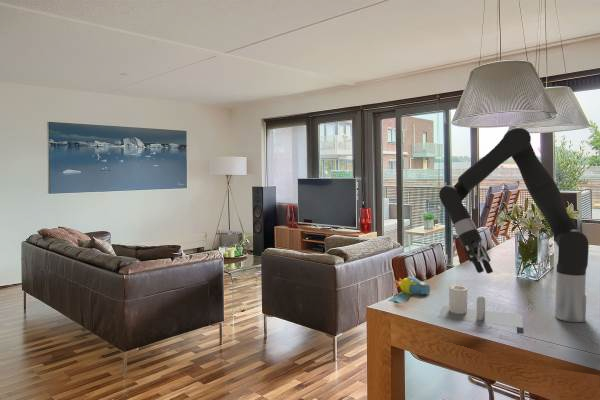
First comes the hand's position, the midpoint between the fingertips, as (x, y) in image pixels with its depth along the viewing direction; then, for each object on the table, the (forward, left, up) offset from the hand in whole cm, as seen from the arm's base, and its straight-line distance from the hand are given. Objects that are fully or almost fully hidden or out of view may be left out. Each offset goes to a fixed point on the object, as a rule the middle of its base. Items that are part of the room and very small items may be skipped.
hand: (485, 272), depth 160 cm
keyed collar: (+10, -2, -16) cm, 19 cm away
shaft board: (+2, +1, -18) cm, 18 cm away
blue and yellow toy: (+31, -21, -19) cm, 42 cm away
